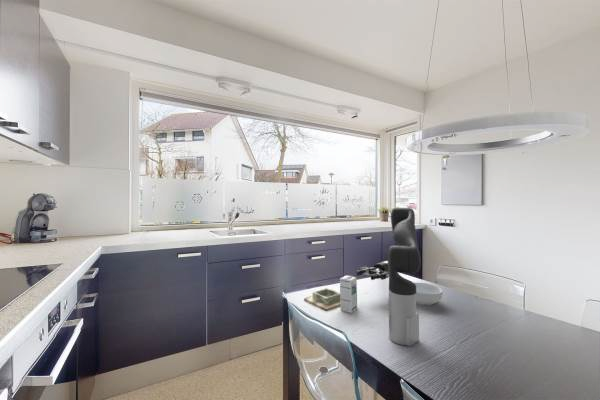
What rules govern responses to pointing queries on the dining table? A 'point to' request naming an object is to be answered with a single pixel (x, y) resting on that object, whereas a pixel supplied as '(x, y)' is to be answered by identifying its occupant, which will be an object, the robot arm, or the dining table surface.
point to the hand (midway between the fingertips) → (364, 275)
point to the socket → (325, 299)
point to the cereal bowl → (427, 294)
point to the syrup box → (348, 293)
